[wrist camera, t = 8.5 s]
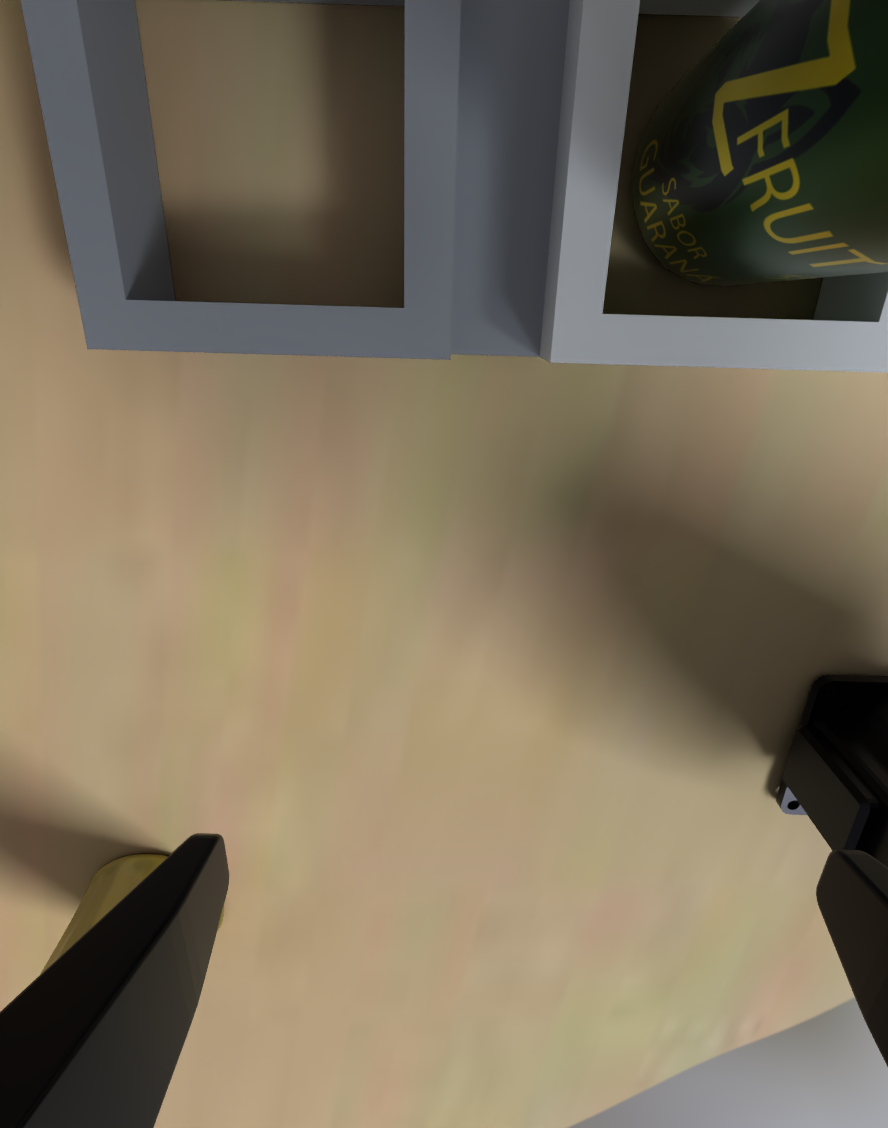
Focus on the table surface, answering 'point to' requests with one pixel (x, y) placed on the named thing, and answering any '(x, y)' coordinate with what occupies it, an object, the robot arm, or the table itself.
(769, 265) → the beer can
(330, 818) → the table surface
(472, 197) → the grey double square frame
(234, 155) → the table surface
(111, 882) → the vase
